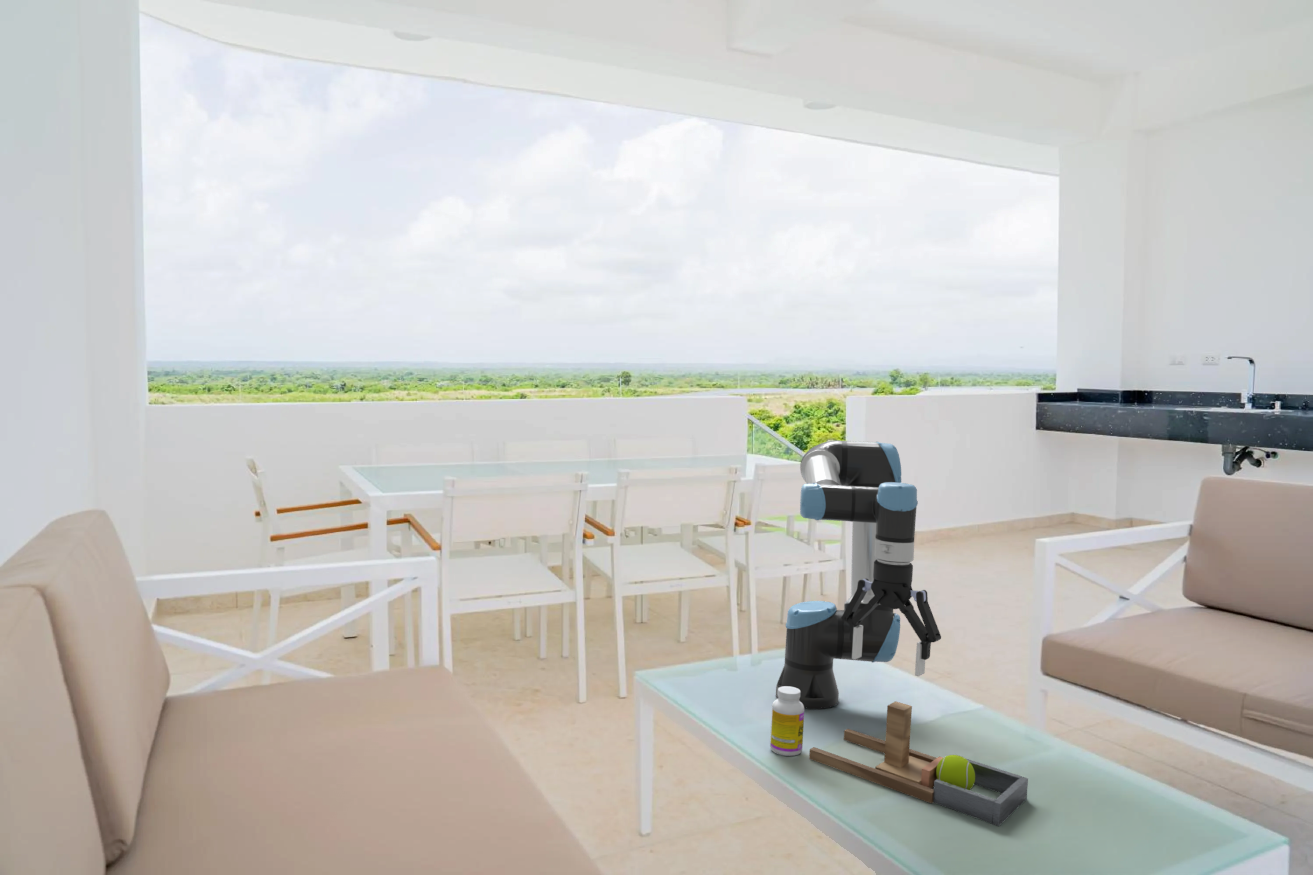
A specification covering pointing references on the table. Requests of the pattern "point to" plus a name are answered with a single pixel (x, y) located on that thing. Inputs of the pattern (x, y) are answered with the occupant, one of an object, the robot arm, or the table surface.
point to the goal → (979, 804)
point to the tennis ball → (956, 771)
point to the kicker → (904, 749)
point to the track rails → (872, 773)
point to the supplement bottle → (787, 722)
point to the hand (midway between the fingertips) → (887, 665)
